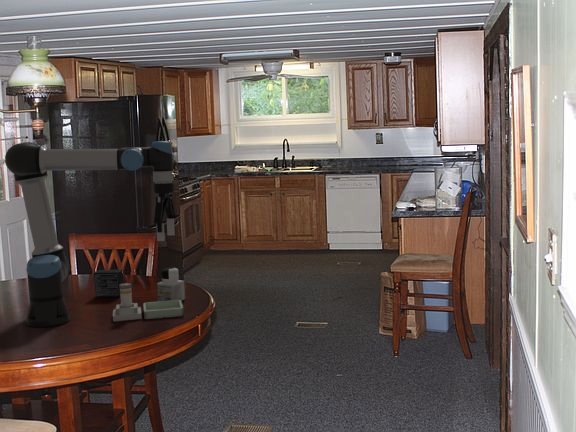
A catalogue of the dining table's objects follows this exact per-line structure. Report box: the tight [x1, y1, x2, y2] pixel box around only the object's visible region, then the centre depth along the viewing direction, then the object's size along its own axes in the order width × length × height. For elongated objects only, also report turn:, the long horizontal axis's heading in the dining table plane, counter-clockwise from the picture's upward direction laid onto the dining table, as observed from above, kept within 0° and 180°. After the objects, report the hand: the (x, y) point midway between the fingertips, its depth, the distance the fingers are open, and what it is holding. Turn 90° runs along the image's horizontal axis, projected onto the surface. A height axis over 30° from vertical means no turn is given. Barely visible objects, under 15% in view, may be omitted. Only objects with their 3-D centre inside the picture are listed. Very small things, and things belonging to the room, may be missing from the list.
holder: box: [112, 302, 143, 322], centre depth 282 cm, size 10×10×4 cm
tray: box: [142, 300, 185, 320], centre depth 285 cm, size 14×14×3 cm
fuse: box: [119, 282, 133, 308], centre depth 281 cm, size 4×4×10 cm
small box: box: [93, 269, 125, 299], centre depth 317 cm, size 11×6×10 cm, turn 84°
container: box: [156, 267, 186, 302], centre depth 303 cm, size 8×8×13 cm
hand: (166, 238), depth 294 cm, fingers open, 13 cm apart
